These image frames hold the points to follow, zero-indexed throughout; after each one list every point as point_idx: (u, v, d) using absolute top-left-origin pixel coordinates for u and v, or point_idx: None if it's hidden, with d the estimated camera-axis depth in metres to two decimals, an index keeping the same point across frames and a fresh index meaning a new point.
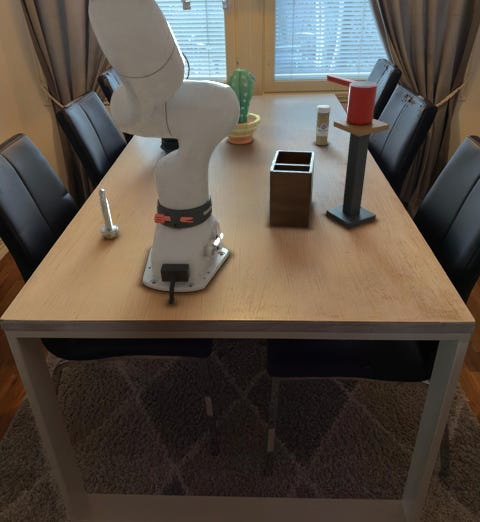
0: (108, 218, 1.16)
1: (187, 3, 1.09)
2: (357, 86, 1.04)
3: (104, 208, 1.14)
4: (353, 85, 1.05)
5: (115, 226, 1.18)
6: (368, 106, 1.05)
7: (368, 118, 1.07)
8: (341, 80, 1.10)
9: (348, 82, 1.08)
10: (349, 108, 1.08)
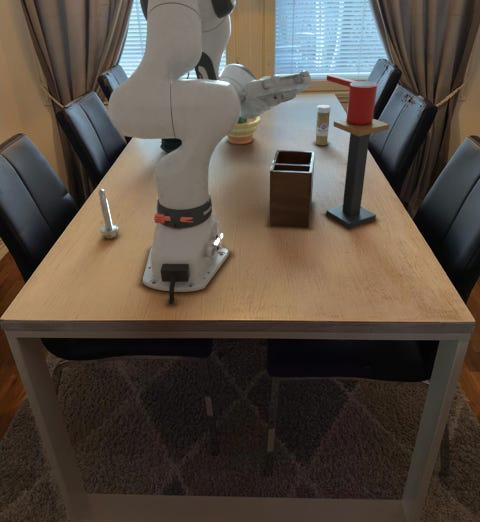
0: (108, 218, 1.16)
1: None
2: (357, 86, 1.04)
3: (104, 208, 1.14)
4: (353, 85, 1.05)
5: (115, 226, 1.18)
6: (368, 106, 1.05)
7: (368, 118, 1.07)
8: (341, 80, 1.10)
9: (348, 82, 1.08)
10: (349, 108, 1.08)
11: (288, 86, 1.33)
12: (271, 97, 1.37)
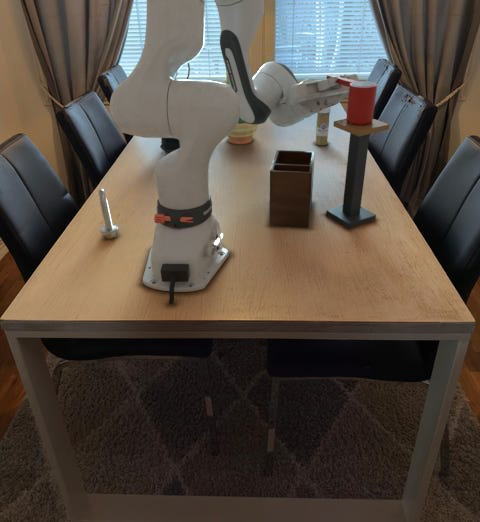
0: (108, 218, 1.16)
1: None
2: (357, 86, 1.04)
3: (104, 208, 1.14)
4: (353, 85, 1.05)
5: (115, 226, 1.18)
6: (368, 106, 1.05)
7: (368, 118, 1.07)
8: (341, 80, 1.10)
9: (348, 82, 1.08)
10: (349, 108, 1.08)
11: (334, 90, 1.16)
12: (314, 103, 1.21)
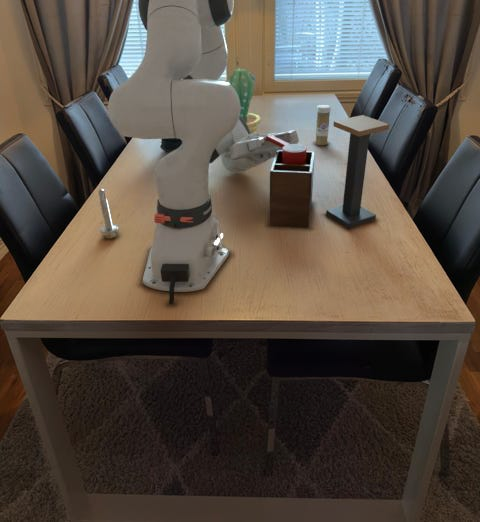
0: (108, 218, 1.16)
1: None
2: (288, 150, 1.17)
3: (104, 208, 1.14)
4: (285, 149, 1.18)
5: (115, 226, 1.18)
6: None
7: None
8: (277, 142, 1.23)
9: (282, 145, 1.21)
10: None
11: (274, 146, 1.29)
12: (257, 156, 1.33)
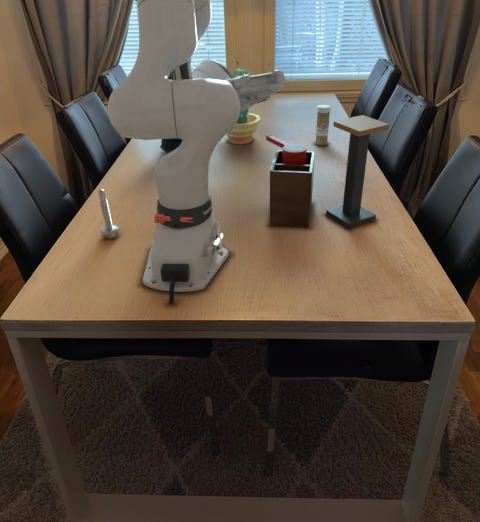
0: (108, 218, 1.16)
1: None
2: (288, 150, 1.17)
3: (104, 208, 1.14)
4: (285, 149, 1.18)
5: (115, 226, 1.18)
6: None
7: None
8: (277, 142, 1.23)
9: (282, 145, 1.21)
10: None
11: (260, 86, 1.26)
12: (243, 98, 1.30)
